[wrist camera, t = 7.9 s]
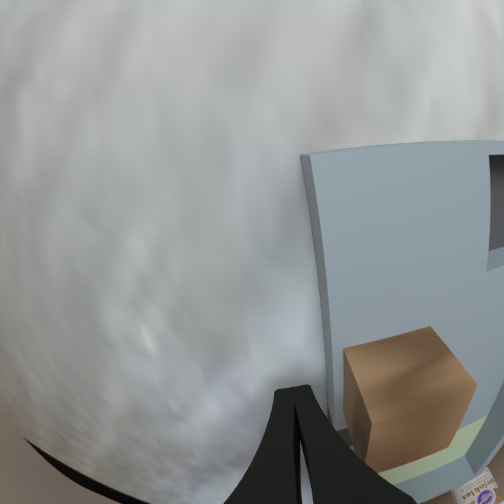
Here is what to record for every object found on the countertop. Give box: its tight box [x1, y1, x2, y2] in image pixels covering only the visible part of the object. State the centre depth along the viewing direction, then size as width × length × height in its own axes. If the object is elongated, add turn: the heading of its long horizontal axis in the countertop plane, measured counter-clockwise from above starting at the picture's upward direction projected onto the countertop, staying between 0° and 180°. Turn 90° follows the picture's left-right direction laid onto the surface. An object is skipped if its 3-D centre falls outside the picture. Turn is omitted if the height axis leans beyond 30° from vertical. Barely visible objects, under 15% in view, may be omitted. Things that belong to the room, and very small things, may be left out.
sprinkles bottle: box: [451, 466, 503, 504], centre depth 13 cm, size 5×5×13 cm
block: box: [343, 326, 477, 473], centre depth 10 cm, size 4×4×4 cm
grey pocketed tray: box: [300, 141, 504, 504], centre depth 12 cm, size 14×25×4 cm, turn 11°
